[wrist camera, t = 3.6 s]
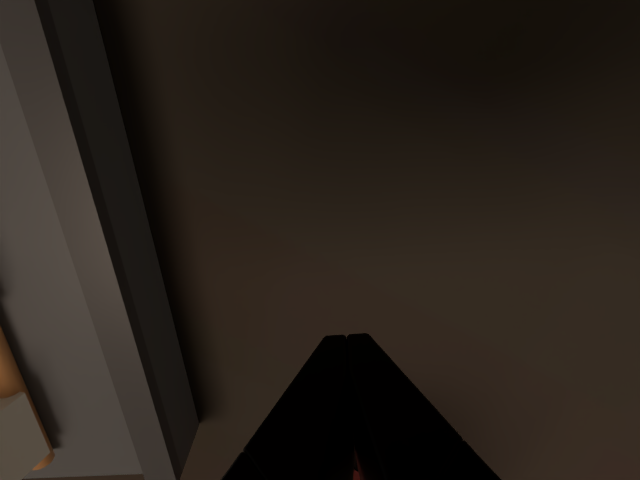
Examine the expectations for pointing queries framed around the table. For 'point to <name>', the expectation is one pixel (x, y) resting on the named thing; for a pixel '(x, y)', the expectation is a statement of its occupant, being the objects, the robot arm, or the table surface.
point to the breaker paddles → (19, 423)
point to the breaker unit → (82, 257)
